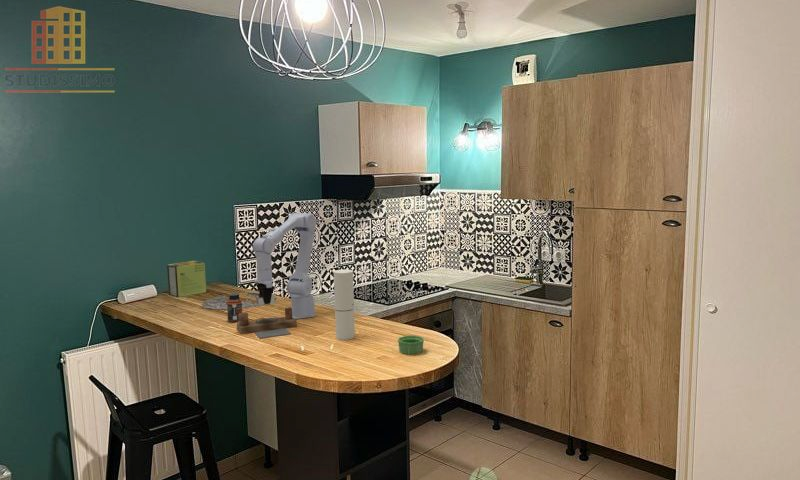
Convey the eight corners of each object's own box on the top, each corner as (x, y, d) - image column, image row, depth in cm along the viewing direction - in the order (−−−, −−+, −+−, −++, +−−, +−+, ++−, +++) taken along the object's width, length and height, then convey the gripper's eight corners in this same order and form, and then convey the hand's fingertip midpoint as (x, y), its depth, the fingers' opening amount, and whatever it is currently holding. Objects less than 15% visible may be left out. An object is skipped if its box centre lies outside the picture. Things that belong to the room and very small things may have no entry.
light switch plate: (272, 301, 246) (271, 291, 245) (274, 303, 242) (274, 293, 241) (256, 302, 243) (255, 293, 242) (258, 305, 239) (258, 295, 239)
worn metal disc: (185, 304, 287) (185, 304, 287) (243, 291, 315) (243, 290, 315) (232, 314, 268) (232, 313, 268) (290, 298, 296) (290, 297, 296)
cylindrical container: (357, 335, 232) (356, 270, 228) (350, 340, 225) (348, 273, 222) (340, 333, 234) (338, 269, 231) (332, 338, 227) (330, 272, 224)
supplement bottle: (238, 322, 253) (237, 295, 251) (225, 322, 254) (223, 295, 252) (245, 319, 258) (243, 292, 257) (232, 318, 260) (230, 292, 258)
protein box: (206, 292, 313) (205, 262, 311) (178, 297, 302) (176, 266, 300) (196, 289, 320) (194, 260, 318) (168, 294, 309) (166, 264, 307)
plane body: (291, 322, 252) (290, 305, 251) (296, 326, 245) (296, 309, 244) (237, 329, 243) (236, 312, 242) (241, 334, 236) (240, 316, 235)
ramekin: (392, 351, 212) (392, 339, 211) (410, 345, 218) (410, 333, 217) (411, 357, 205) (411, 344, 205) (429, 351, 211) (429, 338, 211)
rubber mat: (285, 329, 242) (285, 328, 241) (291, 334, 234) (291, 333, 234) (255, 333, 236) (254, 332, 236) (259, 338, 229) (259, 337, 229)
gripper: (250, 266, 245) (251, 299, 247) (258, 272, 232) (259, 307, 234) (267, 265, 248) (269, 298, 250) (276, 270, 235) (278, 305, 237)
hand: (265, 302), depth 242 cm, fingers closed on light switch plate, 4 cm apart
